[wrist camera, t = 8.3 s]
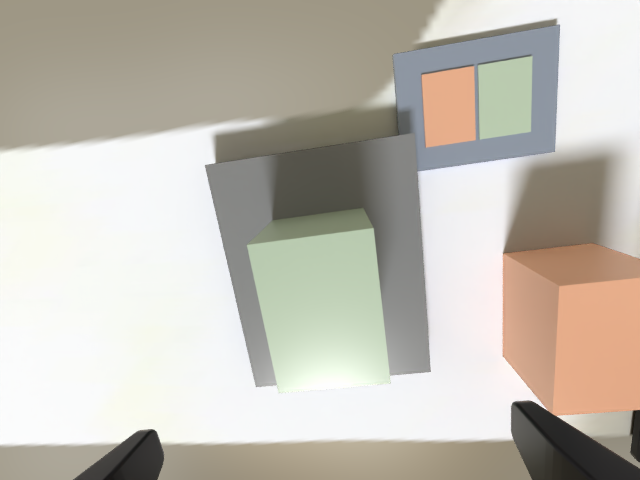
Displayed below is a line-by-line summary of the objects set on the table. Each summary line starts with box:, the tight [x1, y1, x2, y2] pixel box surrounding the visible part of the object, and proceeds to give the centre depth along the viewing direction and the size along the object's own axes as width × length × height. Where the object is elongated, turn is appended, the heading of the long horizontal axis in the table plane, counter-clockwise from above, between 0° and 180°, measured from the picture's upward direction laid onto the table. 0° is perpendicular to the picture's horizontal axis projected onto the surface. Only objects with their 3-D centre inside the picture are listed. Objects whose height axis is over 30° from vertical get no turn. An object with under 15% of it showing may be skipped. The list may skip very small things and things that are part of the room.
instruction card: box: [393, 25, 560, 171], centre depth 16 cm, size 6×8×1 cm
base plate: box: [205, 133, 431, 387], centre depth 19 cm, size 14×11×2 cm
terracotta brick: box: [503, 243, 640, 416], centre depth 17 cm, size 7×5×5 cm
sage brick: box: [247, 208, 391, 393], centre depth 15 cm, size 7×5×5 cm
